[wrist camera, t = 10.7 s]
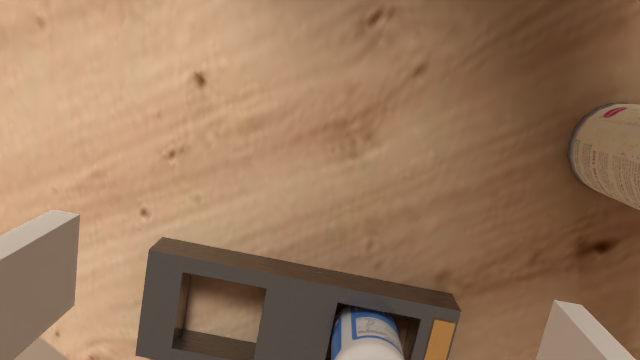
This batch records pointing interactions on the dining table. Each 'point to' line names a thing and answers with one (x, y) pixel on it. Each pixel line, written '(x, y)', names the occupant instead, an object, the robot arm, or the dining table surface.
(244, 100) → the dining table surface
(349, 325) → the pill bottle
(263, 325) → the grey bottle holder tray
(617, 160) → the aerosol can
